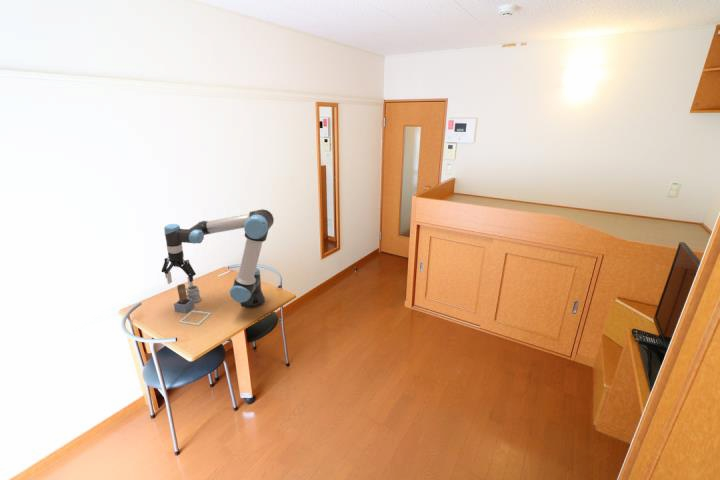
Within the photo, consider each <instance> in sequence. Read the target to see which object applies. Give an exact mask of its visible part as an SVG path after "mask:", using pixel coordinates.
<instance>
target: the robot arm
mask: <svg viewBox="0 0 720 480" xmlns="http://www.w3.org/2000/svg"><path fill="white" fill-rule="evenodd" d="M274 219H275V218H274V215H273V213H271V212H270V211H269V210H267V209H264V208H262V209H257V210H252V211H249V212H248V213H245V214H239V215H236V216H235V215H234V216H231V217H223V218H220V219H219V218H218V219H212V220H201V221H198V222H197V223H196V224H195V225H193V226H192V227H190V228H188V229H186V228H184V229H183V228H181V227H180V225H179V224H177V223H170V224H167V225H165V226H164V228H163V229H164V237H165V242H166V249H167V252H168V253H167V257H165V258H164V259H163V260H164V262H163V265H162V267H161V268H162V269H161V272H162V273H164V274H165V275H164V276H165V279H166V282H167V285H170V284H171V283H173V279H172V273H171V270H172V268H174V267H175V268H179V269H182V271H183V272H184V273H185V274H186V276H187V284H188V287H191V286H193V285H194V282H193V281H194V276H196V274H197V273H196V271H195V270H194V269H193V267H192V265H191V263H190V260H189V259H186V260H185V259H184V251H183V243H184V244H185V243H186V244H193V245H194V244H201V243H202V242H203V240H204V239H205V238H204V237H205V236H206V235H212V234H217V233H222V232H229V231H234V230H239V229H240V230H241V229H244V237H245V238H246V241H245V244H244V250H243V254H242V259H241V263H240V266H239V267H240V268H239V272H238V274H236V275H235V277H234V280H233V285H232V287H230V290H229V296H230V297H231V299H232V300H234V302H237V303H239V304H240V306H241V307H244V308H247V309H253V308H257V307H261V306H262V305H263V304H264V303H265V300H266V299H265V295H264V293H263V290H262V281H261V279H262V278H261V270H260V269H259V268H258V267H257V266H258V263H259V257H260V253H261V250H262V245H263V243H264V242H266V241H267V237H268V233H269V230H270V229H271V227H273V225H274V221H275V220H274Z"/></svg>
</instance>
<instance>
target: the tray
mask: <svg viewBox="0 0 720 480" xmlns="http://www.w3.org/2000/svg"><path fill="white" fill-rule="evenodd" d="M193 313H195V314H200V315H201V314H202V315H206V316H204V318H202V319H201V320H200V321H199V322H198V323H194V322H189V321H185V320H186V319H187V318H189V316H191V315H192V314H193ZM211 315H212V312H208V311H200V310H192V309H191V310H190V311H189V312H188V313H187V314H186V315H185V316H184V317H183V318H182V319H180V320H179V321H178V322H179V324H185V325H189V326H197V327H199V326H200V325H201V324H203V322H205V321H206V319H208V318H209V317H211Z"/></svg>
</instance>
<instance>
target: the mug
mask: <svg viewBox="0 0 720 480" xmlns="http://www.w3.org/2000/svg"><path fill="white" fill-rule="evenodd" d="M185 289H186V295H187V298H188V299H193V300H194V304H195V303H199V302H200V301H201V300H202V297H201V294H200V289H199V286H198V285H195V284H193V286H191V287H189V286H187V287H186V286H185Z"/></svg>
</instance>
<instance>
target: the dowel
mask: <svg viewBox="0 0 720 480" xmlns="http://www.w3.org/2000/svg"><path fill="white" fill-rule="evenodd" d="M185 287H186V285H185V283H181V284H178V285H177V294H178V301H179V300H180V304H184V305H185V304H186V303H188V301H187V290H186V289H185Z"/></svg>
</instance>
